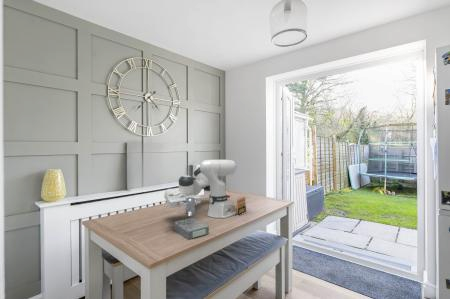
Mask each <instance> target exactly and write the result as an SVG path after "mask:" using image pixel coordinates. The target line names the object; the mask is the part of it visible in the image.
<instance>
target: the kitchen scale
mask: <svg viewBox="0 0 450 299" xmlns="http://www.w3.org/2000/svg"><path fill="white" fill-rule="evenodd" d="M172 230H174V231H175V232H176V233H178V234H179V235H181V236H182V237H183V238H184V239H187V240H192V239H196V238H199V237H203V236H207V235H210V232H209V231H210V227H209V226H208V224H206V223H204V222H201V221H200V220H198V219H196V218H194V217H190V218H186V219H180V220H177V221H174V222H173V229H172Z"/></svg>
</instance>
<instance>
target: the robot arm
mask: <svg viewBox="0 0 450 299" xmlns="http://www.w3.org/2000/svg"><path fill="white" fill-rule="evenodd" d="M237 167H238V166H237V163H236V162H235V160H230V159H205V160H202V161H201V163H200V165H199V166H198V167H196V168H195V169H194V171H193V176H191V175H181V176H180V177H179V178H178V190H177V189H174V188H168V189H166V190H165V192H164V193H163V194H164V199H165V200H166V207H168V208H170V209H173V208H181V207H185V208H186V206H187V203H186V198H189V197H192V198H195V206H196V205H198V204H200V203H202V196H199V194H200V193H201V192H202V191H204V192H205V191H206V192H209V195H208V196H209V201H208V202H209V206H208V211H207V214H206V216H208V217H210V218H216V219H218V218H219V219H220V218H221V219H227V218H230V217H232V216H236V215H235V214H236V208H235V207H236V206H235V204H234V203H233V202H232V201H230V200H229V199H231V195H230V194H227V192H226V191H227V185H226V182H225V181H223V180H221V179H220V178H218V177H226V176H230V175H231V176H232V175H234V174H235V173H236V172H237Z"/></svg>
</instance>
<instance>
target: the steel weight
mask: <svg viewBox="0 0 450 299" xmlns="http://www.w3.org/2000/svg"><path fill="white" fill-rule="evenodd" d="M186 203H187V206H186V207H185V215H186V216H189V217H190V216H191V217H192V216H194V215H195V216H196V214H195V213H196V211H195V210H196V207H195V206H196V205H195V198H192V197H189V198H186Z"/></svg>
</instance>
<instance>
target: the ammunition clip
mask: <svg viewBox="0 0 450 299" xmlns="http://www.w3.org/2000/svg"><path fill="white" fill-rule="evenodd" d="M235 207H236V208H235V210H236V215H239V216H241V215H243V214H242V213H244V212H246V213H247V205H246V196H243V197H239V198H237V199H236V206H235ZM240 214H241V215H240ZM244 214H245V213H244ZM236 215H235V216H236Z"/></svg>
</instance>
